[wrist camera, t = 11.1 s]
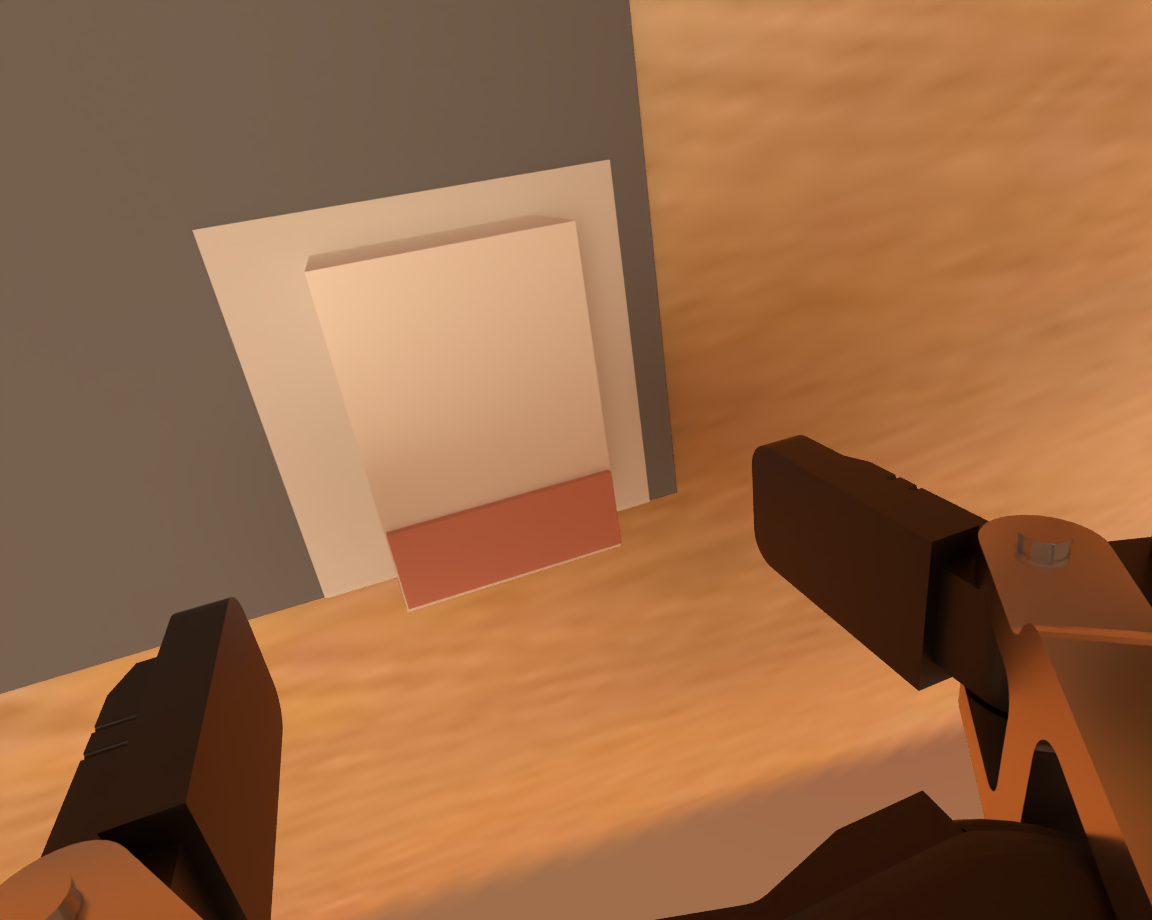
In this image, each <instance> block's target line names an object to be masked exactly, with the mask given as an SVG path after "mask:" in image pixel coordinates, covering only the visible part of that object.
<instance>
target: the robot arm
mask: <svg viewBox="0 0 1152 920" xmlns="http://www.w3.org/2000/svg"><path fill="white" fill-rule="evenodd" d="M752 477H753V506H754V531H755V538H756V541H757V545H758V547H759V550H760V552H761V554H762V556H763V557H764V559H765V560H766V562H767V563H768V564H769V565H770V566H771V567H772V568H773V569H774V570H775V571H776V572H778V573H779V574H780V575H781V576H782V577H784V578H785V579H786V580H787V581H788V582H790V583H791V584H792V585H793V586H794V587H796V588H797V589H798V590H799V591H800V592H801V593H803V594H804V595H805V596H806V597H807V598H809V599H810V600H811V601H812V602H813V603H815V604H816V605H817V606H818V607H819V608H821V609H822V610H823V611H824V612H825V613H827V614H828V615H829V616H830V617H831V618H832V619H834V620H835V621H836V622H837V623H838V624H840V625H841V626H842V627H843V628H844V629H846V630H847V631H848V632H849V633H850V634H852V635H853V636H854V637H855V638H856V639H857V640H859V641H860V642H861V643H862V644H863V645H865V646H866V647H867V648H868V649H869V650H871V651H872V652H873V653H874V654H875V655H877V656H878V657H879V658H880V659H881V660H883V661H884V662H885V663H886V664H887V665H888V666H890V667H891V668H892V669H893V670H894V671H896V672H897V673H898V674H899V675H900V676H902V677H903V678H904V679H905V680H906V681H908V682H909V683H910V684H911V685H912V686H913V687H915V688H916V689H917V690H918V691H920V690H922V689H925V688H927V687H929V686H932V685H934V684H937V683H939V682H941V681H944V680H946V679H948V678H951V677H953V678H955V679H956V680H957V681H959V682H960V690H959V699H958V702H959V709H960V713H961V718H962V722H963V726H964V731H965V735H966V739H967V744H968V748H969V753H970V757H971V761H972V766H973V770H974V774H975V778H976V783H977V787H978V792H979V796H980V801H981V805H982V809H983V814H984V819H963V820H952V819H951V818H950V817H949V816H948V815H947V814H946V813H944V811H943V810H942V809H941V808H940V807H939V806H938V805H937V804H936V803H935V802H934V801H933V800H932V799H931V798H930V797H929V796H928V795H927V794H926V793H925V792H924V791H920V792H918V793H916V794H914V795H912V796H910V797H908V798H905V799H904V800H901V801H899V802H897V803H895V804H892V805H890V806H888V807H886V808H884V809H882V810H879V811H877V812H875V813H873V814H871V815H869V816H866V817H864V818H862V819H860V820H858V821H856V822H853V823H851V824H849V825H847V826H845V827H843V828H841V829H838V830H837V831H835V832H834V833H833V834H832V835H831V836H830V837H829V838H828V839H827V840H826V841H825V842H823V844H821V845H820V846H819V847H818V848H817V849H816V850H815V851H814V852H813V853H811V854H810V855H809V856H808V857H807V858H806V859H805V860H804V861H803V862H802V863H801V864H799V866H798V867H796V868H795V869H794V870H793V871H792V872H791V873H790V874H789V875H788V876H786V877H785V878H784V879H783V880H782V881H781V882H780V883H779V884H778V885H777V886H776V887H774V888H773V889H772V890H771V891H770V892H769V893H768V894H767V895H765V896H764V897H763V898H761V899H760V900H758V901H756V902H754V903H750V904H747V905H741V906H735V907H729V908H723V909H717V910H712V911H705V912H699V913H693V914H688V915H681V916H675V917H669V918H664V919H657V920H1152V536H1151V537H1146V538H1137V539H1127V540H1118V541H1109V542H1107V541H1106V540H1105V539H1104V538H1103V537H1101V536H1100V535H1099V534H1097V533H1095V532H1094V531H1092V530H1090V529H1088V528H1086V527H1083V526H1081V525H1078V524H1075V523H1073V522H1069V521H1066V520H1062V519H1057V518H1053V517H1046V516H1038V515H1012V516H1005V517H1000V518H997V519H994V520H991V521H987V520H985V519H983V518H981V517H979V516H977V515H975V514H973V513H971V512H969V511H967V510H965V509H963V508H961V507H959V506H957V505H955V504H953V503H951V502H949V501H947V500H945V499H943V498H941V497H939V496H937V495H935V494H933V493H931V492H929V491H927V490H925V489H923V488H920V489H917V486H916V485H915V484H913V483H911V482H909V481H907V480H905V479H903V478H901V477H900V478H896V476H895V474H893V473H891V472H889V471H887V470H885V469H883V468H881V467H879V466H877V465H875V464H873V463H871V462H868V461H864V460H859V459H855V458H851V457H847V456H843V455H841V454H839V453H837V452H835V451H833V450H831V449H829V448H827V447H825V446H824V445H822V444H820V443H818V442H816V441H814V440H812V439H810V438H808V437H806V436H803V435H798V436H794V437H791V438H787V439H784V440H780V441H777V442H773V443H770V444H766V445H763V446H760V447H758V448H757V449H756V450H755V452H754V454H753V459H752ZM95 731H96V732H95V733H92V734H91V737H90V739H89V741H88V744H87V746H86V749H85V751H84V760H82V761H80V763H79V766H78V768H77V771H76V773H75V776H74V778H73V780H72V783H71V785H70V788H69V790H68V793H67V795H66V797H65V800H64V802H63V805H62V807H61V810H60V812H59V814H58V817H57V819H56V822H55V824H54V827H53V829H52V831H51V834H50V836H49V839H48V841H47V844H46V846H45V848H44V851H43V853H42V856H41V858H39V859H38V860H36V861H34V862H33V863H31V864H29V865H28V866H26V867H24V868H23V869H21V870H20V871H18V872H17V873H15V874H14V875H13V876H11V877H10V878H8V879H7V880H6V881H5V882H3V883H2V884H1V885H0V920H271V905H272V890H273V874H274V858H275V842H276V826H277V811H278V795H279V779H280V763H281V747H282V731H283V726H282V715H281V708H280V703H279V699H278V695H277V692H276V688H275V686H274V683H273V680H272V678H271V676H270V673H269V671H268V668H267V666H266V663H265V661H264V658H263V656H262V654H261V651H260V649H259V646H258V644H257V641H256V639H255V637H254V634H253V632H252V629H251V627H250V624H249V622H248V620H247V617H246V615H245V612H244V610H243V608H242V606H241V604H240V603H239V601H238V600H237V599H236V598H235V597H230V598H226V599H223V600H219V601H216V602H212V603H209V604H205V605H202V606H198V607H195V608H191V609H188V610H184V611H181V612H178V613H175V614H173V615H172V616H171V618H170V620H169V623H168V626H167V629H166V632H165V635H164V638H163V641H162V644H161V647H160V650H159V653H158V656H157V657H156V658H152V659H149V660H146V661H142V662H139V663H136V664H135V665H134V666H133V668H132V669H131V670H130V671H129V672H128V673H127V674H126V675H125V676H124V678H123V679H122V680H121V681H120V682H119V683H118V684H117V685H116V686H115V688H114V689H113V690H112V691H111V692H110V693H109V694H108V695H107V698H106V700H105V703H104V705H103V707H102V710H101V712H100V715H99V717H98V720H97V722H96V724H95Z"/></svg>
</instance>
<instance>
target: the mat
mask: <svg viewBox="0 0 1152 920" xmlns="http://www.w3.org/2000/svg"><path fill="white" fill-rule="evenodd" d="M527 215H539V216H546V217H553V218H560V219H567V220H575V223H576V230H577V237H578V244H579V251H580V258H581V265H582V272H583V279H584V286H585V293H586V300H587V307H588V314H589V321H590V329H591V336H592V343H593V350H594V357H595V364H596V371H597V378H598V385H599V392H600V399H601V406H602V413H603V420H604V427H605V434H606V442H607V449H608V456H609V463H610V470H611V473H612V480H613V487H614V494H615V501H616V508H617V512H618V511H621V510H625V509H628V508H631V507H635V506H638V505H642V504H645V503H648V502H650V500H653V499H656V498H659V497H663V496H666V495H670V494H673V493H676V492H677V486H676V476H675V466H674V455H673V445H672V435H671V425H670V414H669V404H668V394H667V384H666V374H665V363H664V353H663V343H662V333H661V322H660V312H659V302H658V292H657V282H656V271H655V261H654V251H653V241H652V230H651V220H650V210H649V200H648V190H647V179H646V169H645V159H644V149H643V138H642V128H641V118H640V108H639V98H638V87H637V77H636V67H635V57H634V46H633V36H632V26H631V16H630V6H629V0H0V694H1V693H4V692H8V691H11V690H15V689H18V688H21V687H25V686H28V685H31V684H35V683H38V682H41V681H45V680H48V679H51V678H55V677H58V676H62V675H65V674H68V673H72V672H75V671H78V670H82V669H85V668H88V667H92V666H95V665H99V664H102V663H105V662H109V661H112V660H115V659H119V658H122V657H125V656H129V655H132V654H135V653H139V652H142V651H146V650H149V649H152V648H156V647H159V646H161V644H162V641H163V638H164V635H165V632H166V629H167V626H168V623H169V620H170V618H171V616H172V615H173V614H175V613H178V612H181V611H184V610H188V609H191V608H195V607H198V606H202V605H205V604H209V603H212V602H216V601H219V600H223V599H226V598H230V597H235V598H236V599H237V600H238V601H239V603H240V604H241V606H242V608H243V610H244V612H245V615H246V617H247V620H250V619H253V618H256V617H260V616H263V615H266V614H270V613H273V612H277V611H280V610H283V609H287V608H290V607H293V606H297V605H300V604H303V603H307V602H310V601H313V600H317V599H320V598H324V597H325V599H326V598H330V597H333V596H337V595H340V594H343V593H347V592H350V591H353V590H357V589H360V588H363V587H367V586H370V585H373V584H377V583H380V582H383V581H387V580H390V579H393V578H397V574H396V571H395V568H394V564H393V561H392V558H391V555H390V551H389V548H388V545H387V541H386V538H385V535H384V532H383V528H382V525H381V522H380V518H379V515H378V512H377V509H376V505H375V502H374V499H373V496H372V492H371V489H370V486H369V482H368V479H367V476H366V473H365V469H364V466H363V463H362V459H361V456H360V453H359V450H358V446H357V443H356V440H355V436H354V433H353V430H352V427H351V423H350V420H349V417H348V414H347V410H346V407H345V404H344V400H343V397H342V394H341V391H340V387H339V384H338V381H337V377H336V374H335V371H334V368H333V364H332V361H331V358H330V355H329V351H328V348H327V345H326V341H325V338H324V335H323V332H322V328H321V325H320V322H319V318H318V315H317V312H316V309H315V305H314V302H313V299H312V295H311V292H310V289H309V286H308V282H307V279H306V276H305V273H304V272H305V268H306V265H307V261H308V258H309V256H311V255H316V254H321V253H327V252H332V251H338V250H343V249H348V248H354V247H359V246H365V245H370V244H375V243H381V242H386V241H392V240H397V239H403V238H408V237H413V236H419V235H424V234H430V233H435V232H440V231H446V230H451V229H457V228H462V227H467V226H473V225H478V224H484V223H489V222H494V221H500V220H505V219H511V218H516V217H521V216H527Z"/></svg>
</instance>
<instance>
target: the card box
mask: <svg viewBox="0 0 1152 920" xmlns="http://www.w3.org/2000/svg"><path fill="white" fill-rule="evenodd" d="M304 273H305V276H306V279H307V282H308V286H309V289H310V292H311V295H312V299H313V302H314V305H315V309H316V312H317V315H318V318H319V322H320V325H321V328H322V332H323V335H324V338H325V341H326V345H327V348H328V351H329V355H330V358H331V361H332V364H333V368H334V371H335V374H336V377H337V381H338V384H339V387H340V391H341V394H342V397H343V400H344V404H345V407H346V410H347V414H348V417H349V420H350V423H351V427H352V430H353V433H354V436H355V440H356V443H357V446H358V450H359V453H360V456H361V459H362V463H363V466H364V469H365V473H366V476H367V479H368V482H369V486H370V489H371V492H372V496H373V499H374V502H375V505H376V509H377V512H378V515H379V518H380V522H381V525H382V528H383V532H384V535H385V538H386V541H387V545H388V548H389V551H390V555H391V558H392V561H393V564H394V568H395V571H396V574H397V578H398V581H399V584H400V587H401V591H402V594H403V597H404V600H405V604H406V607H407V610H408V612H411V611H414V610H417V609H420V608H423V607H427V606H430V605H433V604H436V603H439V602H443V601H446V600H449V599H452V598H455V597H459V596H462V595H465V594H468V593H471V592H475V591H478V590H481V589H484V588H487V587H491V586H494V585H497V584H500V583H503V582H507V581H510V580H513V579H516V578H519V577H523V576H526V575H529V574H532V573H536V572H539V571H542V570H545V569H548V568H552V567H555V566H558V565H561V564H564V563H568V562H571V561H574V560H577V559H580V558H584V557H587V556H590V555H593V554H596V553H600V552H603V551H606V550H609V549H612V548H616V547H619V546H621V537H620V530H619V522H618V515H617V508H616V501H615V494H614V487H613V480H612V473H611V470H610V463H609V456H608V449H607V442H606V434H605V427H604V420H603V413H602V406H601V399H600V392H599V385H598V378H597V371H596V364H595V357H594V350H593V343H592V336H591V329H590V321H589V314H588V307H587V300H586V293H585V286H584V279H583V272H582V265H581V258H580V251H579V244H578V237H577V230H576V223H575V220H567V219H560V218H553V217H546V216H539V215H527V216H521V217H516V218H511V219H505V220H500V221H494V222H489V223H484V224H478V225H473V226H467V227H462V228H457V229H451V230H446V231H440V232H435V233H430V234H424V235H419V236H413V237H408V238H403V239H397V240H392V241H386V242H381V243H375V244H370V245H365V246H359V247H354V248H348V249H343V250H338V251H332V252H327V253H321V254H316V255H311V256H309V258H308V261H307V265H306V268H305V272H304Z"/></svg>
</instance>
